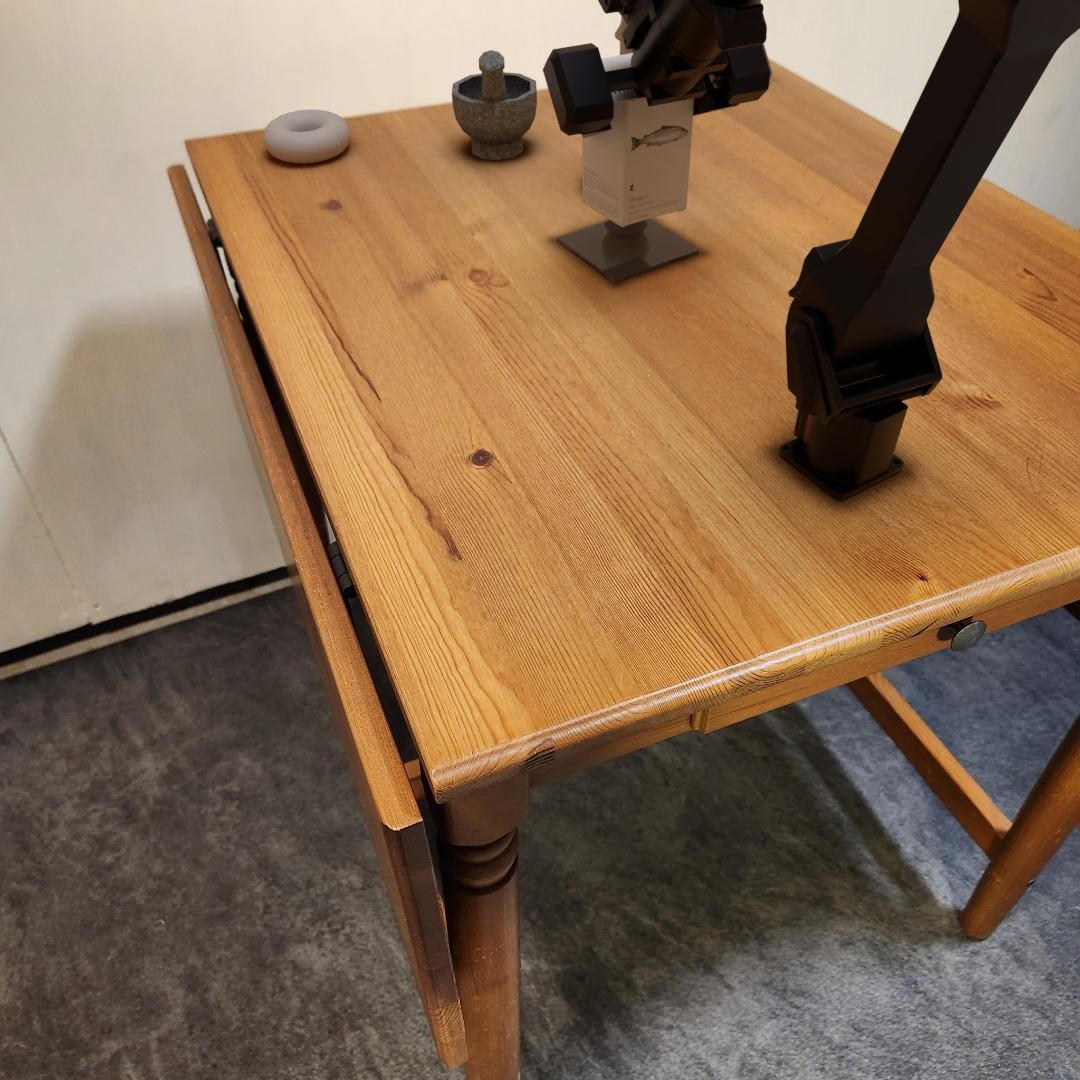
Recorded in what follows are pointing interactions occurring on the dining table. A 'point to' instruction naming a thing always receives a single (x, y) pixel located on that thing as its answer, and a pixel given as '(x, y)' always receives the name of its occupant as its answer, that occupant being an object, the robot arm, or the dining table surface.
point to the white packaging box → (638, 158)
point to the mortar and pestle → (495, 108)
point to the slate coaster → (627, 248)
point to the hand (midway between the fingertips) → (626, 124)
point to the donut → (306, 136)
